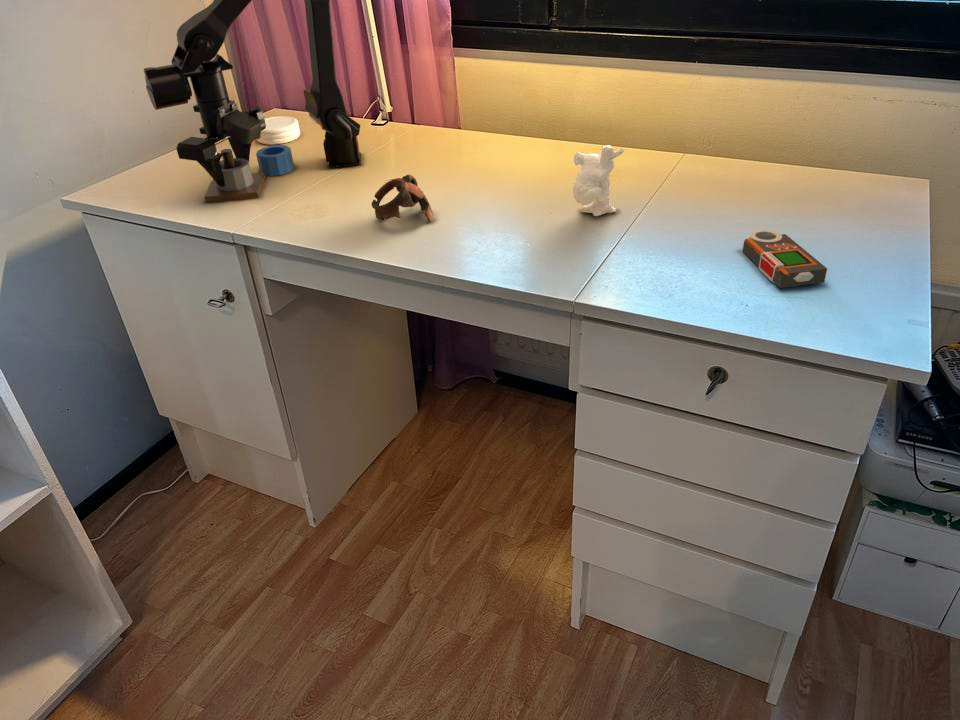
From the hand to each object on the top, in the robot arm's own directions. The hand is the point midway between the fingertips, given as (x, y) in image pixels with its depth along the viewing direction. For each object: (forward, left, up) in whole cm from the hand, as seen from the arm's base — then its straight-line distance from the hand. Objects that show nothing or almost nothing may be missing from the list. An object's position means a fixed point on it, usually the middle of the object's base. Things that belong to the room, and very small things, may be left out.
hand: (233, 179), depth 143 cm
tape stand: (0, 0, -2) cm, 2 cm away
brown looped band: (-33, +20, -2) cm, 39 cm away
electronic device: (-88, +49, -2) cm, 101 cm away
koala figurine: (-66, +25, -2) cm, 71 cm away
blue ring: (-7, -9, -2) cm, 12 cm away
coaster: (-5, -29, -2) cm, 30 cm away
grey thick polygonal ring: (0, 0, -1) cm, 1 cm away
